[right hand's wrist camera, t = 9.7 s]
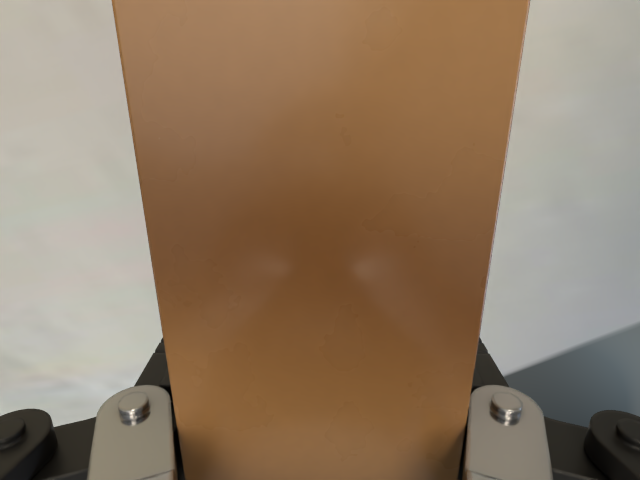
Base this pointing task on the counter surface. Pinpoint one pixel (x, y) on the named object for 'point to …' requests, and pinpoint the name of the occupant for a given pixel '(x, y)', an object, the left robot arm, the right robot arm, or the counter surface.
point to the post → (321, 223)
